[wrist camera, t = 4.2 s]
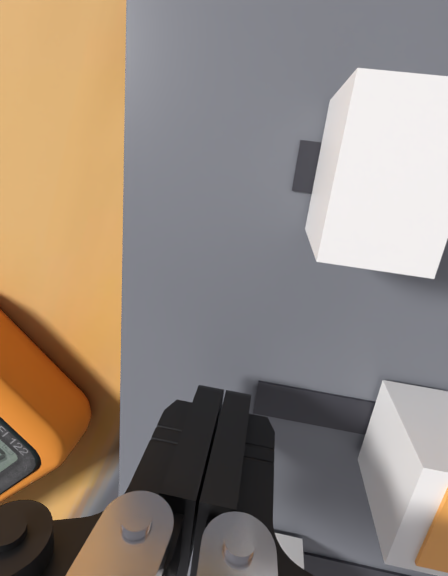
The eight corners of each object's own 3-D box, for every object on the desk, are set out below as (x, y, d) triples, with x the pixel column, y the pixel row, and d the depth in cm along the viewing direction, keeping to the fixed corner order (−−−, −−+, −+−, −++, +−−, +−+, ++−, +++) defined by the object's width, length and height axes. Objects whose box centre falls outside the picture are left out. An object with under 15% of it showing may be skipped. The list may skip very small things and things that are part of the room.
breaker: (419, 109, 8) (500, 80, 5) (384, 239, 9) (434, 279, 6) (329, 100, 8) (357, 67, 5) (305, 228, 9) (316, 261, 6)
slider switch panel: (853, 63, 9) (1116, 20, 6) (513, 605, 17) (561, 698, 14) (166, 6, 11) (125, -49, 8) (141, 521, 19) (116, 587, 16)
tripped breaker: (454, 392, 10) (529, 491, 7) (422, 472, 11) (475, 588, 8) (382, 379, 10) (425, 471, 7) (357, 459, 12) (386, 568, 8)
